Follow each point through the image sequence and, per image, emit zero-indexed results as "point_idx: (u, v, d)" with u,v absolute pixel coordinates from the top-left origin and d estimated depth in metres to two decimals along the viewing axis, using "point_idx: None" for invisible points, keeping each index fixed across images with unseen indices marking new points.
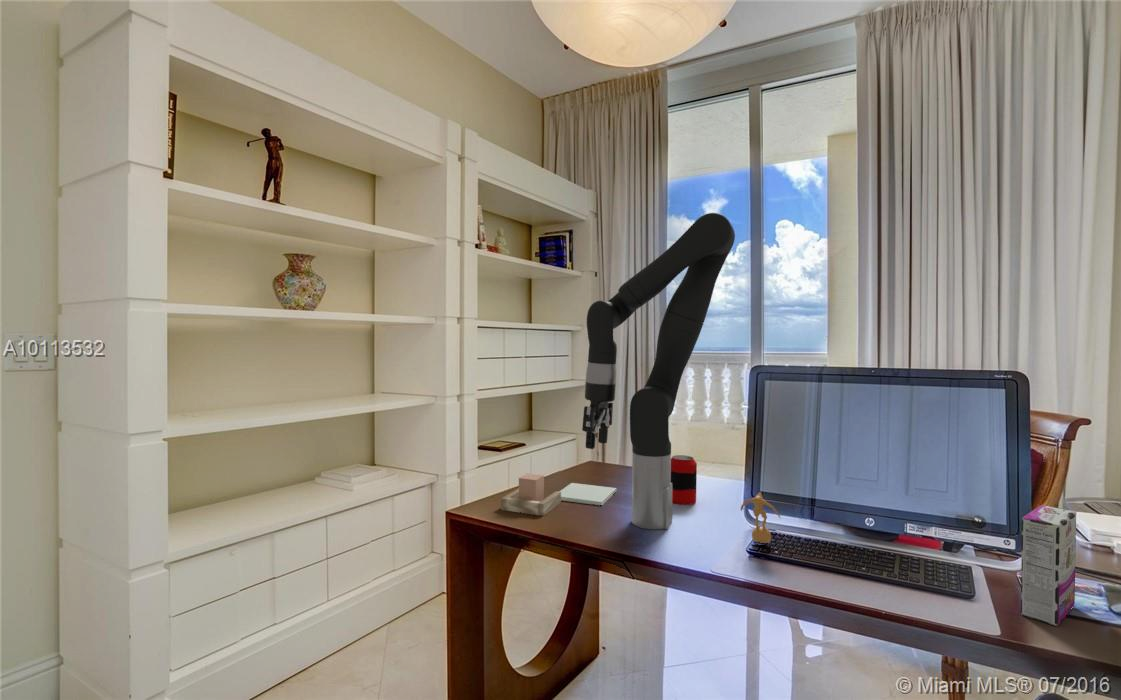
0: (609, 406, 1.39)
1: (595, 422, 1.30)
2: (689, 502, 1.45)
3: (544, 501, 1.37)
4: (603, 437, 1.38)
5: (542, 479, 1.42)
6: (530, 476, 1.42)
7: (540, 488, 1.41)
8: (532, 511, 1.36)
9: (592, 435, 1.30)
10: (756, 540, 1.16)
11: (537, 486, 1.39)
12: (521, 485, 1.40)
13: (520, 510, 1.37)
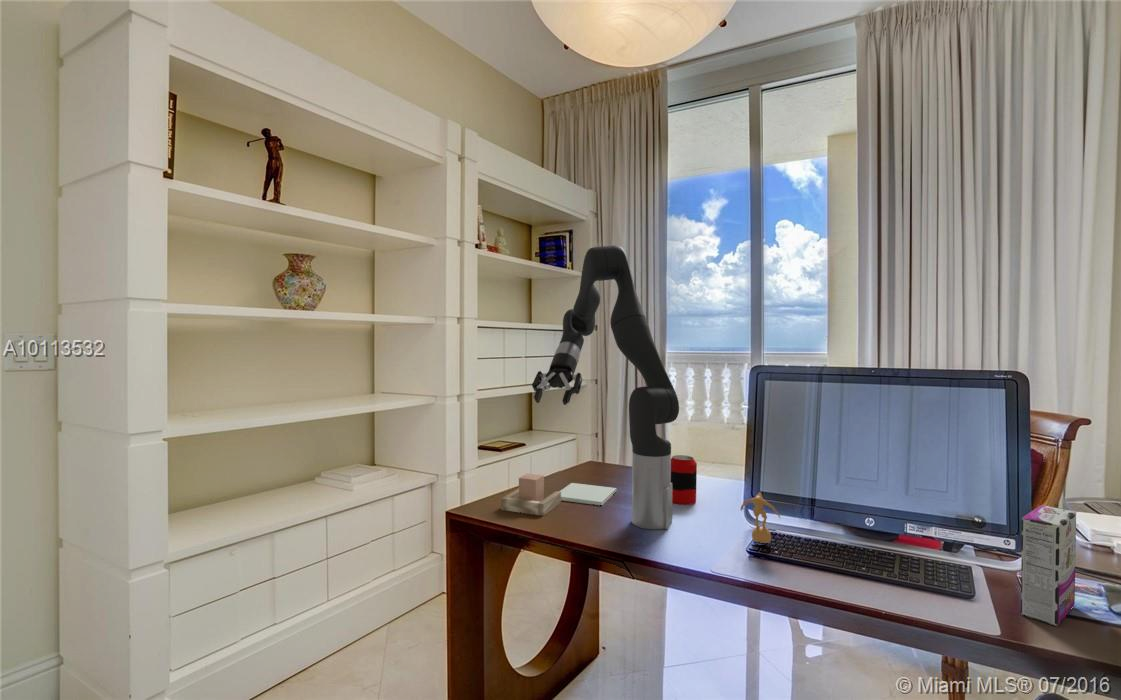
0: None
1: None
2: (689, 502, 1.45)
3: (544, 501, 1.37)
4: None
5: (542, 479, 1.42)
6: (530, 476, 1.42)
7: (540, 488, 1.41)
8: (532, 511, 1.36)
9: (537, 390, 1.57)
10: (756, 540, 1.16)
11: (537, 486, 1.39)
12: (521, 485, 1.40)
13: (520, 510, 1.37)
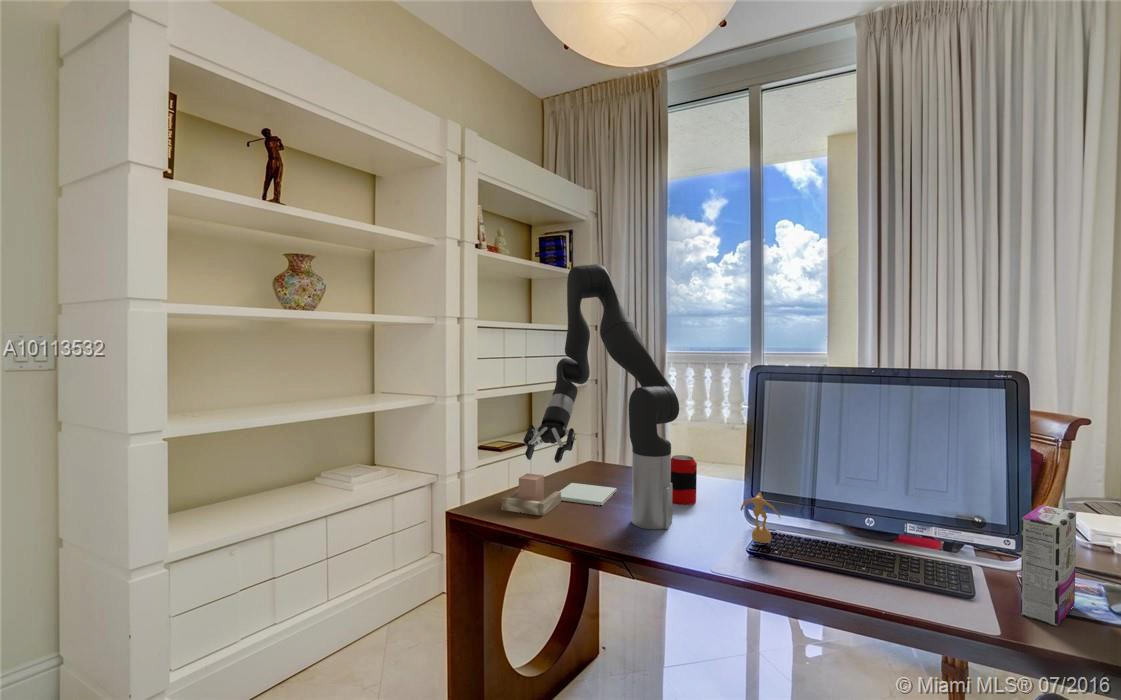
0: None
1: None
2: (689, 502, 1.45)
3: (544, 501, 1.37)
4: None
5: (542, 479, 1.42)
6: (530, 476, 1.42)
7: (540, 488, 1.41)
8: (532, 511, 1.36)
9: (528, 446, 1.52)
10: (756, 540, 1.16)
11: (537, 486, 1.39)
12: (521, 485, 1.40)
13: (520, 510, 1.37)
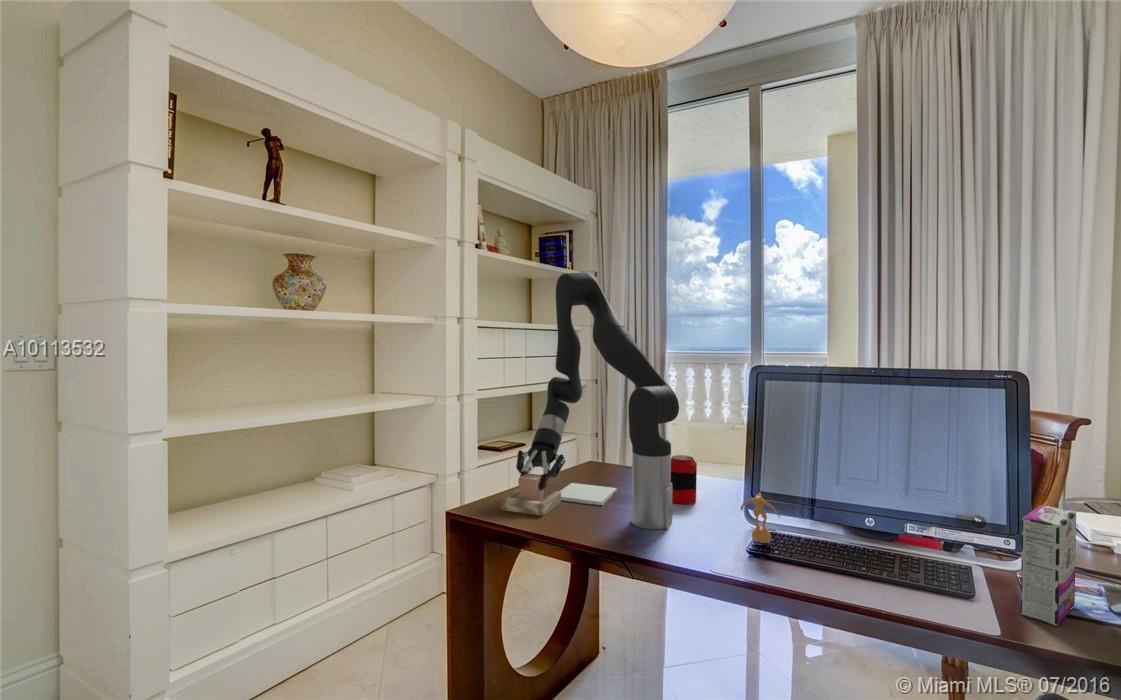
0: None
1: None
2: (689, 502, 1.45)
3: (544, 501, 1.37)
4: None
5: None
6: (530, 476, 1.42)
7: None
8: (532, 511, 1.36)
9: (522, 473, 1.45)
10: (756, 540, 1.16)
11: (537, 486, 1.39)
12: (521, 485, 1.40)
13: (520, 510, 1.37)
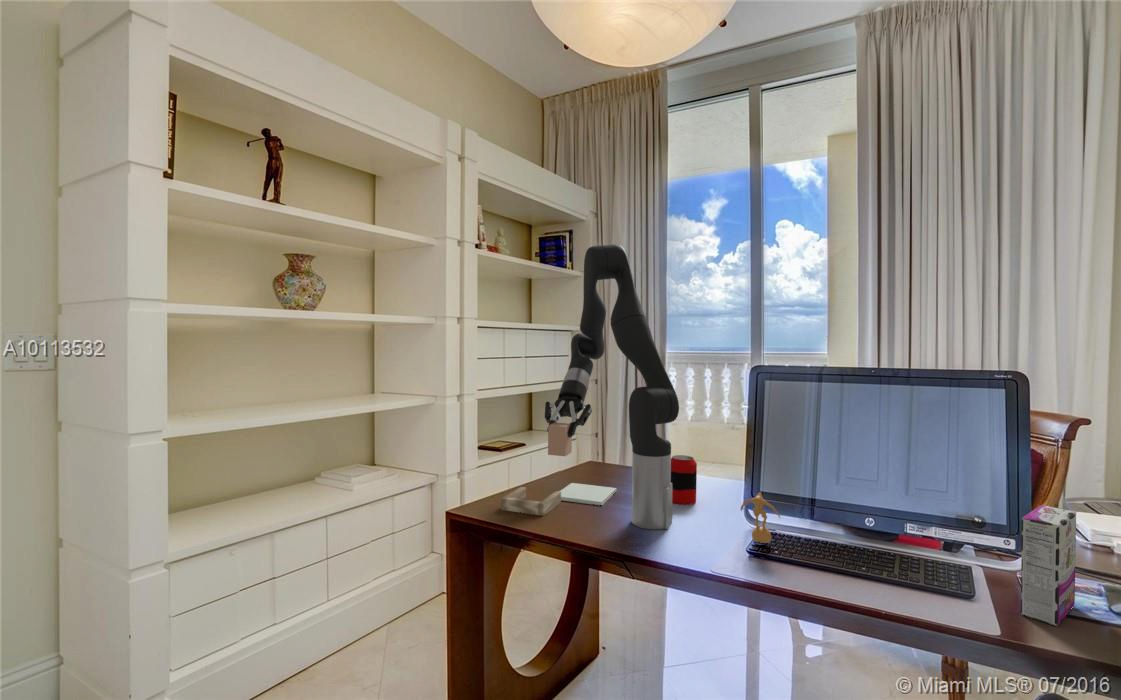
0: None
1: None
2: (689, 502, 1.45)
3: (544, 501, 1.37)
4: None
5: None
6: (559, 424, 1.47)
7: None
8: (532, 511, 1.36)
9: (550, 422, 1.49)
10: (756, 540, 1.16)
11: (566, 433, 1.44)
12: (550, 432, 1.45)
13: (520, 510, 1.37)
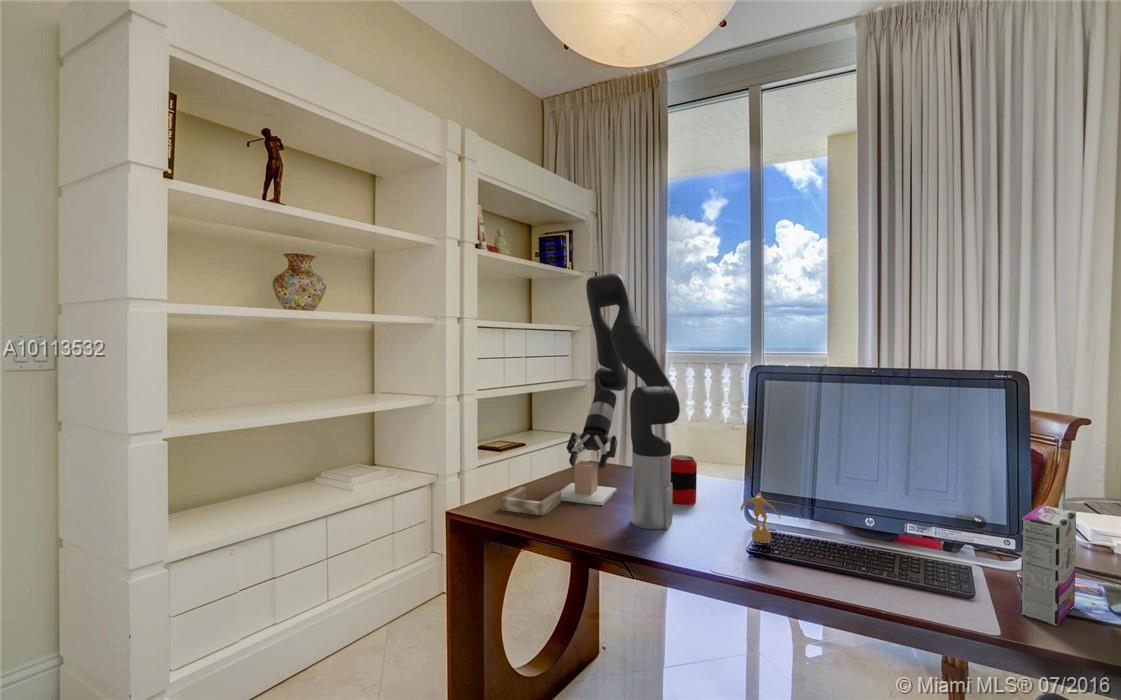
0: (611, 439, 1.56)
1: None
2: (689, 502, 1.45)
3: (544, 501, 1.37)
4: None
5: (596, 466, 1.53)
6: (585, 463, 1.53)
7: (594, 474, 1.52)
8: (532, 511, 1.36)
9: (572, 453, 1.56)
10: (756, 540, 1.16)
11: (592, 472, 1.50)
12: (577, 471, 1.51)
13: (520, 510, 1.37)
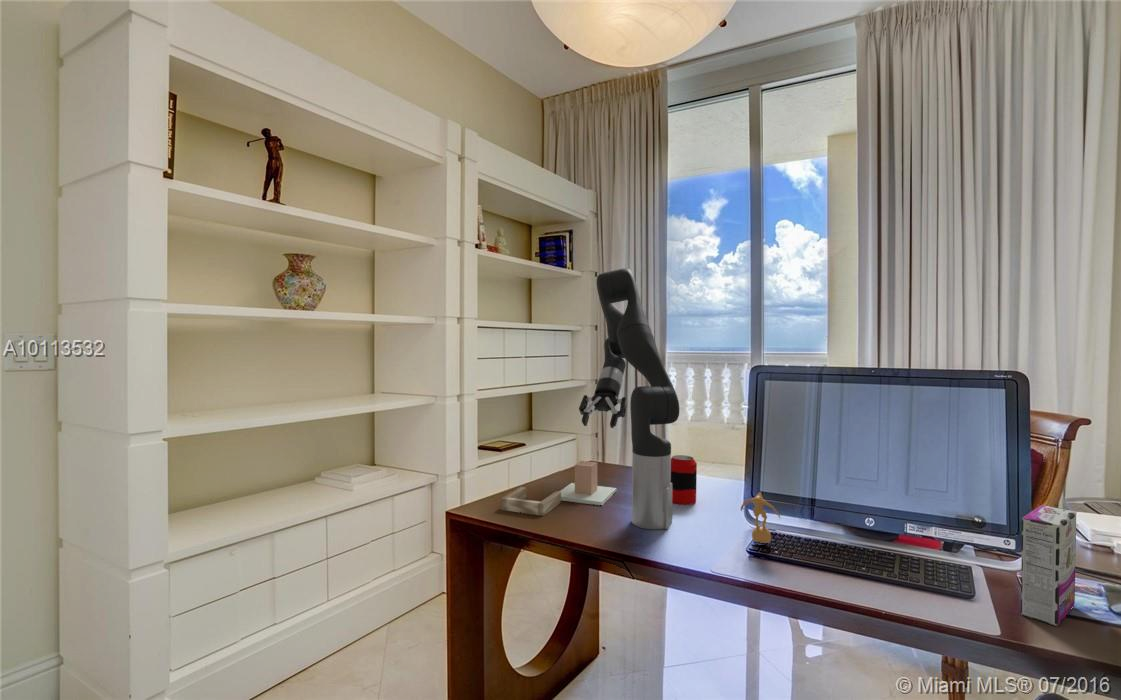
0: (621, 400, 1.64)
1: None
2: (689, 502, 1.45)
3: (544, 501, 1.37)
4: None
5: (596, 466, 1.53)
6: (585, 463, 1.53)
7: (594, 474, 1.52)
8: (532, 511, 1.36)
9: (584, 414, 1.65)
10: (756, 540, 1.16)
11: (592, 472, 1.50)
12: (577, 471, 1.51)
13: (520, 510, 1.37)
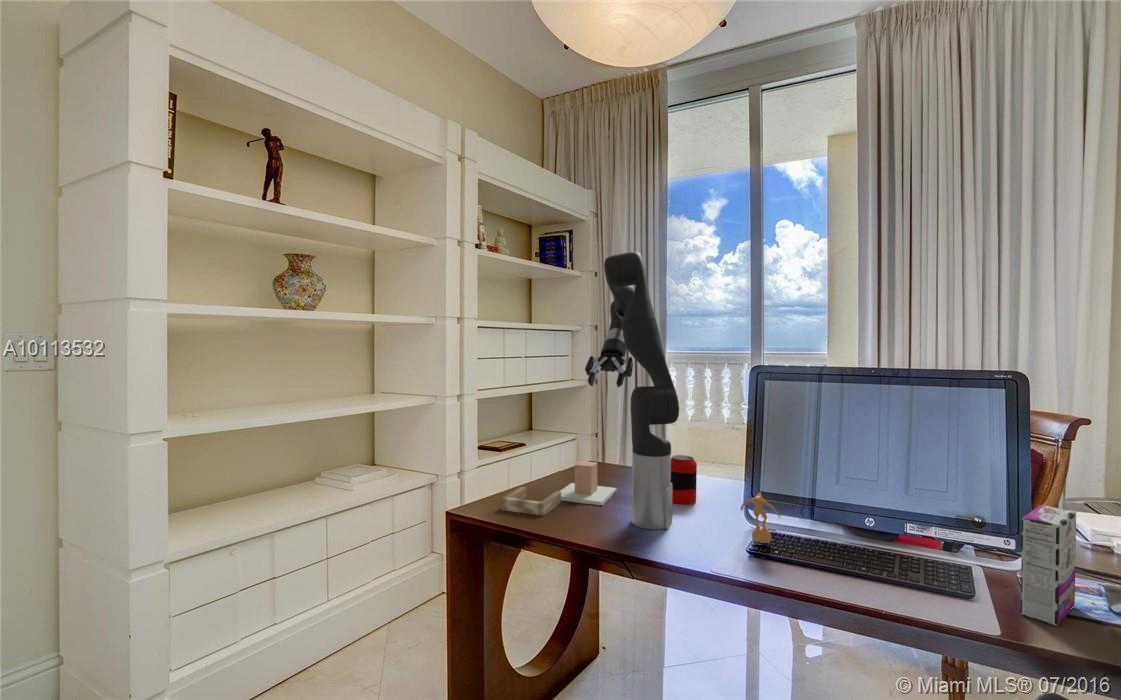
0: (628, 360, 1.63)
1: None
2: (689, 502, 1.45)
3: (544, 501, 1.37)
4: None
5: (596, 466, 1.53)
6: (585, 463, 1.53)
7: (594, 474, 1.52)
8: (532, 511, 1.36)
9: (590, 374, 1.64)
10: (756, 540, 1.16)
11: (592, 472, 1.50)
12: (577, 471, 1.51)
13: (520, 510, 1.37)
